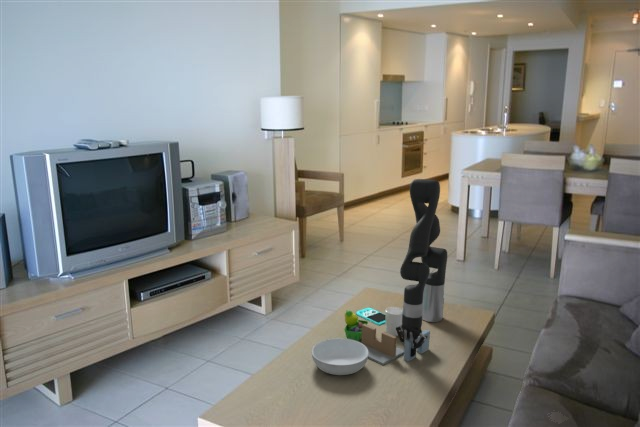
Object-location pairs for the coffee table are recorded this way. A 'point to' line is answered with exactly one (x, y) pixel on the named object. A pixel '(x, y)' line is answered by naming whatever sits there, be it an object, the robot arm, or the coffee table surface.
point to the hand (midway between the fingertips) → (409, 354)
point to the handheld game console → (372, 315)
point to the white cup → (393, 319)
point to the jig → (380, 345)
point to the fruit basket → (353, 326)
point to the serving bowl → (340, 356)
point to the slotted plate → (420, 350)
